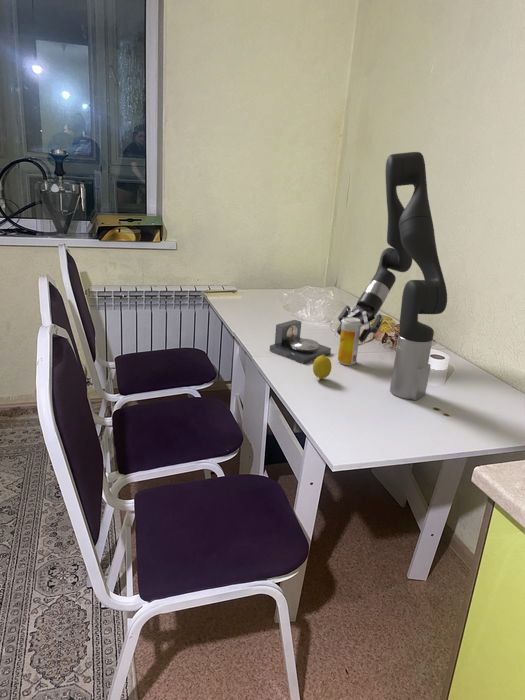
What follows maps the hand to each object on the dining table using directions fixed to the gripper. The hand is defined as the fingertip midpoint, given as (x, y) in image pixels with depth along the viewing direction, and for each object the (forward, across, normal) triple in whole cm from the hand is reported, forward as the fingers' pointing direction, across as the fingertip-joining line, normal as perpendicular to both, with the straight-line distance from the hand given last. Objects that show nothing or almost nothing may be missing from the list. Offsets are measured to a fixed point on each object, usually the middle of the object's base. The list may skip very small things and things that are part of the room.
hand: (349, 337), depth 161 cm
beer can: (+6, 0, +7) cm, 9 cm away
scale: (+10, -16, +3) cm, 19 cm away
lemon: (+19, +3, -6) cm, 20 cm away
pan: (+8, -15, +1) cm, 17 cm away
